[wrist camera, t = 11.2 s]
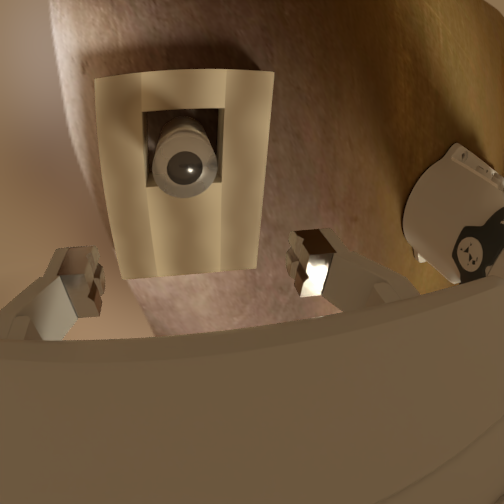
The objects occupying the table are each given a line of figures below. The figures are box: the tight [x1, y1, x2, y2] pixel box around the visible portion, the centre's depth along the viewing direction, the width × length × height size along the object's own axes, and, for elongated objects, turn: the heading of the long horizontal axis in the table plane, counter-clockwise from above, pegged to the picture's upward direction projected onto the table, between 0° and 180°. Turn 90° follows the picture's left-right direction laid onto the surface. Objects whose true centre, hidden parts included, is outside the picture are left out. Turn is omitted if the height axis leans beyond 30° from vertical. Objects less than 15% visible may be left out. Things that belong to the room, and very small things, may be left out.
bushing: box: [152, 116, 217, 198], centre depth 20 cm, size 4×4×8 cm
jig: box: [94, 69, 274, 280], centre depth 24 cm, size 13×18×4 cm
